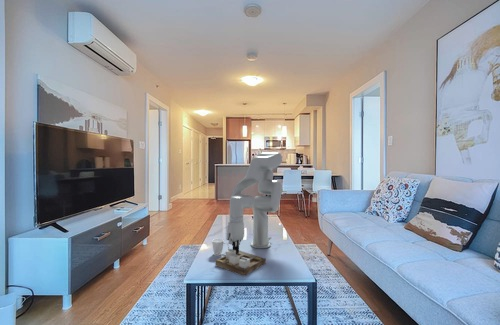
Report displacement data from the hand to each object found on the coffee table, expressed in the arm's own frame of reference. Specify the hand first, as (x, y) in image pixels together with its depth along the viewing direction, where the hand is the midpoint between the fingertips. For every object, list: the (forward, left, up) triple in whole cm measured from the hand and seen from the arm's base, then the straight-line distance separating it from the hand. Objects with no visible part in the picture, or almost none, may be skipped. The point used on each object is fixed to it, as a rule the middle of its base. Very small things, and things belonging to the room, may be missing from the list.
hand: (235, 252), depth 136 cm
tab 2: (+8, +13, -2) cm, 15 cm away
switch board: (+3, +6, -4) cm, 8 cm away
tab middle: (+8, +6, -2) cm, 11 cm away
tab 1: (+4, 0, -2) cm, 4 cm away
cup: (0, -12, -4) cm, 12 cm away
